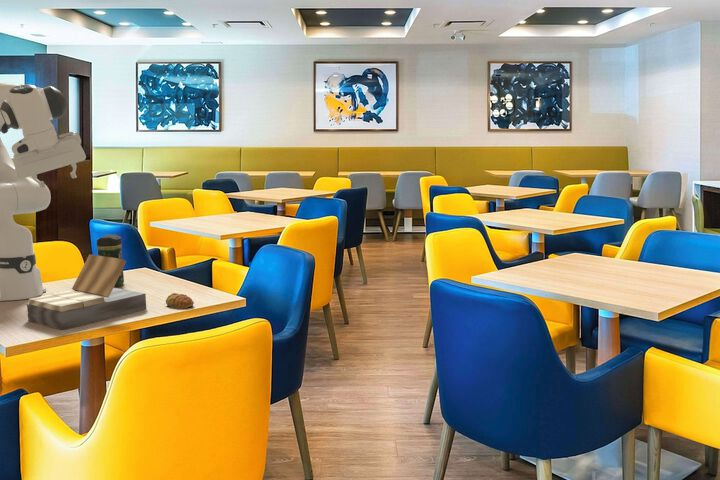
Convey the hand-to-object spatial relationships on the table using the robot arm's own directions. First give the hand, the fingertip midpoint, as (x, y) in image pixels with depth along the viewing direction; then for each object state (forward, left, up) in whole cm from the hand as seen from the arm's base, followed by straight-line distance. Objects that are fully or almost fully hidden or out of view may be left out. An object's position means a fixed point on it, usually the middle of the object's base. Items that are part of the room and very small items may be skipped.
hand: (58, 182), depth 212 cm
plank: (+14, +3, -28) cm, 32 cm away
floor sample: (+14, -2, -40) cm, 42 cm away
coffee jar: (-18, +28, -40) cm, 52 cm away
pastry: (+28, +22, -40) cm, 53 cm away
